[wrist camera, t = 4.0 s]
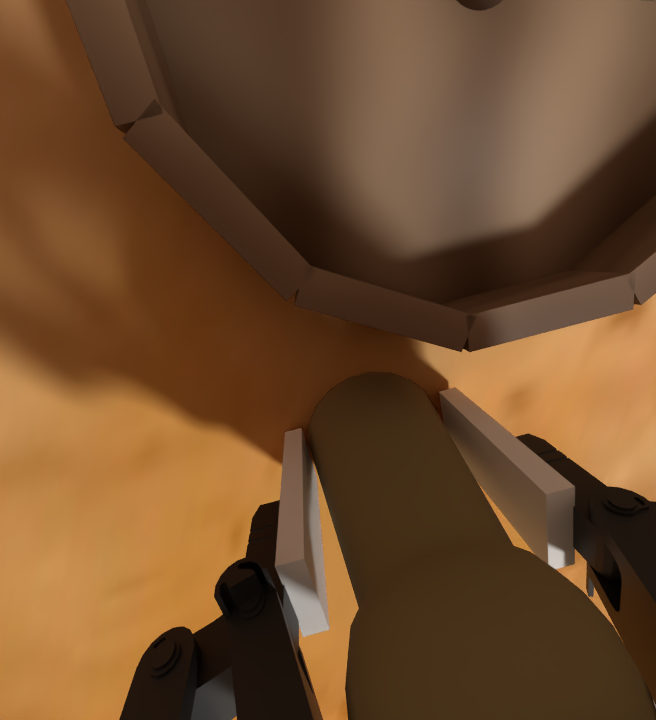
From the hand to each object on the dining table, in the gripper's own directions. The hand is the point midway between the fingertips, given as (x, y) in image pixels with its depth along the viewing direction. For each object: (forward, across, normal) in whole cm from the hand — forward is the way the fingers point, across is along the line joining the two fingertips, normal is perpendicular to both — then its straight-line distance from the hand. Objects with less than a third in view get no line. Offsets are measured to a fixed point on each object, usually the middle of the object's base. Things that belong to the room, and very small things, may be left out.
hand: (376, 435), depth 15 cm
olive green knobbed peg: (+1, 0, 0) cm, 1 cm away
